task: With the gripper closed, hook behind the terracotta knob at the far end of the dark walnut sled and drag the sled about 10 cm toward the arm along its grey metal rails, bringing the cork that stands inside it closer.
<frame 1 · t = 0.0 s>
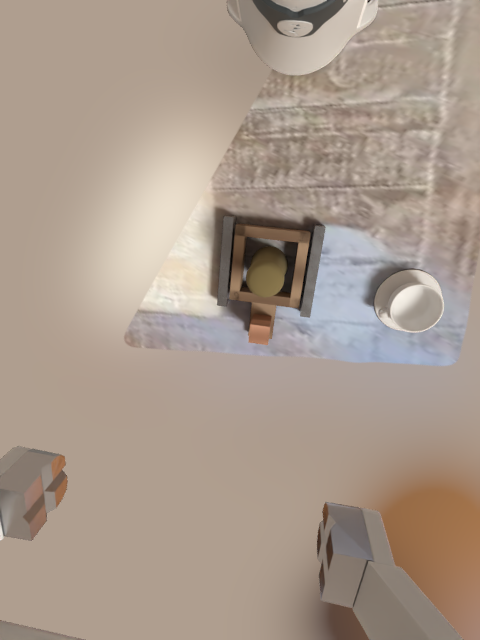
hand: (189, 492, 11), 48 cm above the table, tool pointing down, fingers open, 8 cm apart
cork: (269, 265, 56), resting in sled
teacup: (406, 299, 56), on the table
lane rails: (269, 265, 56), on the table
sled: (265, 288, 54), point 3 cm above the table, slide at 0.0 cm
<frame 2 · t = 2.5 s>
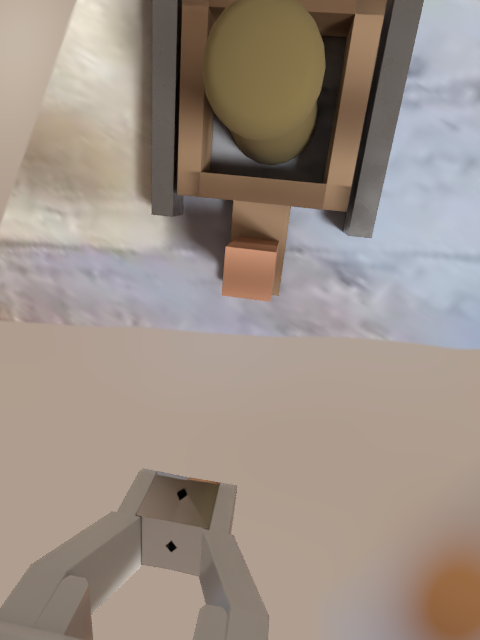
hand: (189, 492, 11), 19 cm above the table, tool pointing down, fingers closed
cork: (273, 116, 24), resting in sled
lane rails: (272, 116, 24), on the table
sled: (264, 160, 22), point 3 cm above the table, slide at 0.0 cm
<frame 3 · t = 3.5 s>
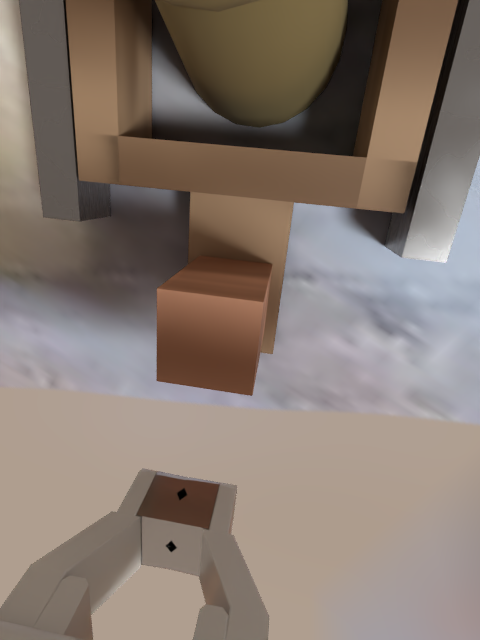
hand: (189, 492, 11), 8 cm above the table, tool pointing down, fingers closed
cork: (261, 35, 13), resting in sled
lane rails: (260, 32, 13), on the table
sled: (240, 109, 11), point 3 cm above the table, slide at 0.0 cm
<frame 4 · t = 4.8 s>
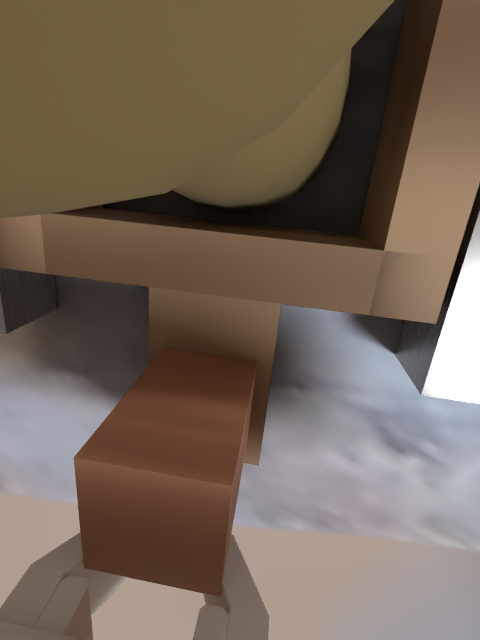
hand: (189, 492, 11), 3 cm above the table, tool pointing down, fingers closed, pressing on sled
cork: (237, 102, 10), resting in sled
lane rails: (236, 100, 10), on the table
sled: (205, 183, 8), point 3 cm above the table, slide at 0.7 cm, touching gripper
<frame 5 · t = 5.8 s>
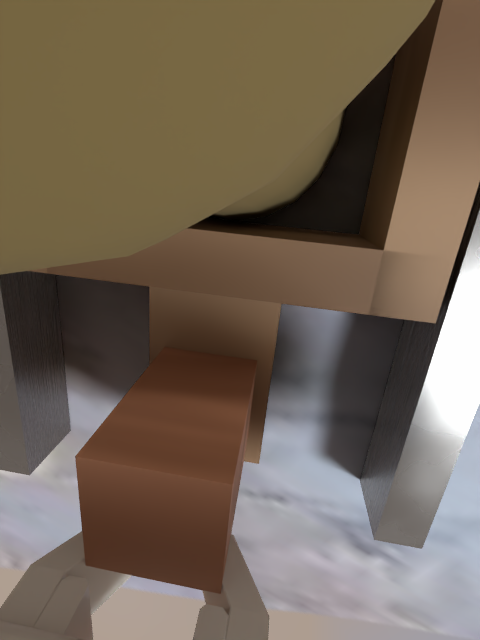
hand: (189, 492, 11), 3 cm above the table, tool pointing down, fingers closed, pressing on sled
cork: (237, 111, 10), resting in sled
lane rails: (222, 288, 12), on the table
sled: (205, 183, 8), point 3 cm above the table, slide at 6.3 cm, touching gripper, cork
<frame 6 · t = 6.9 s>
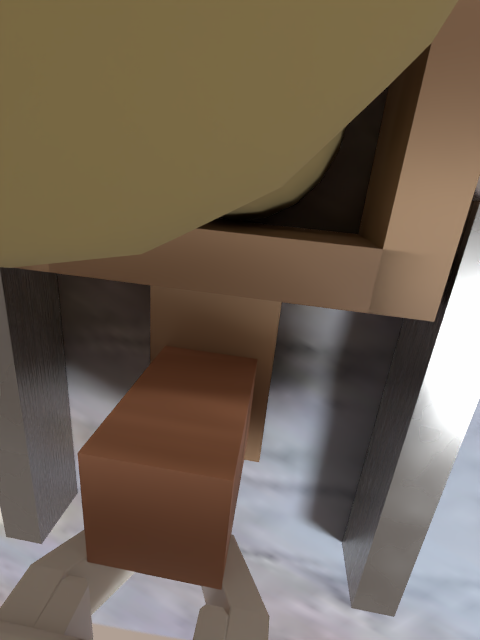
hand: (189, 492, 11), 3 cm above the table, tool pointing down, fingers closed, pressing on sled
cork: (242, 112, 10), resting in sled
lane rails: (215, 380, 13), on the table
sled: (206, 182, 8), point 3 cm above the table, slide at 9.8 cm, touching gripper, cork
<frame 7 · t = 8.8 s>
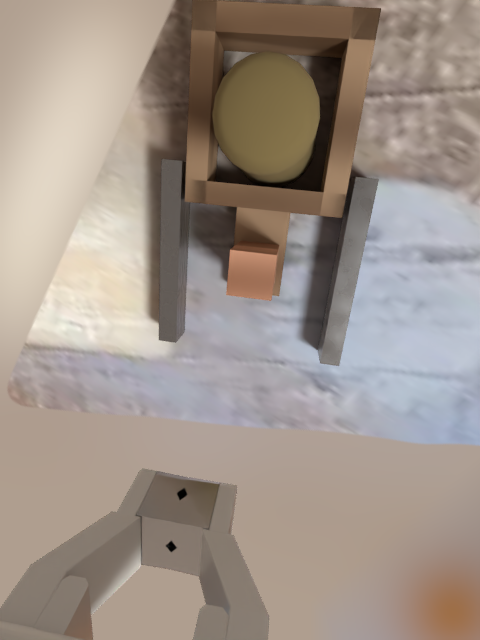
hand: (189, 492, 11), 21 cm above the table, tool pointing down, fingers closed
cork: (273, 144, 26), resting in sled
lane rails: (258, 263, 29), on the table
sled: (265, 170, 23), point 3 cm above the table, slide at 9.8 cm
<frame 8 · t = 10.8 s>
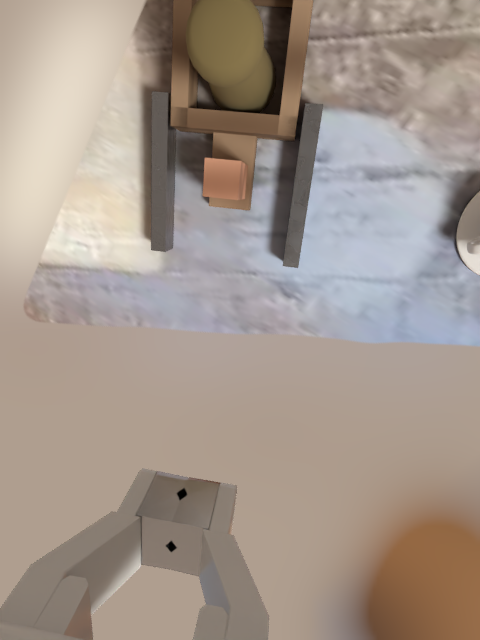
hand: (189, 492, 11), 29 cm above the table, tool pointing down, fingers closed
cork: (243, 82, 32), resting in sled
lane rails: (232, 184, 35), on the table
sled: (234, 97, 30), point 3 cm above the table, slide at 9.8 cm
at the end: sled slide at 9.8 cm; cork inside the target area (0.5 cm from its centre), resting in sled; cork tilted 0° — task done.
